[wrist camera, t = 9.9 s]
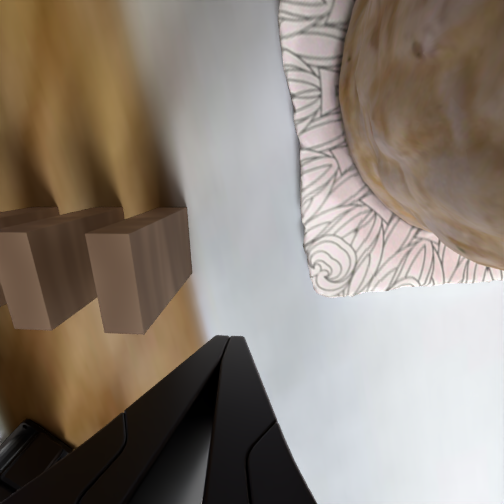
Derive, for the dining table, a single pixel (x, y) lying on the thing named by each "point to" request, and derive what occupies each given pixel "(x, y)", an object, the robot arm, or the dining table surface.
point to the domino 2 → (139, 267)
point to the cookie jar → (398, 140)
